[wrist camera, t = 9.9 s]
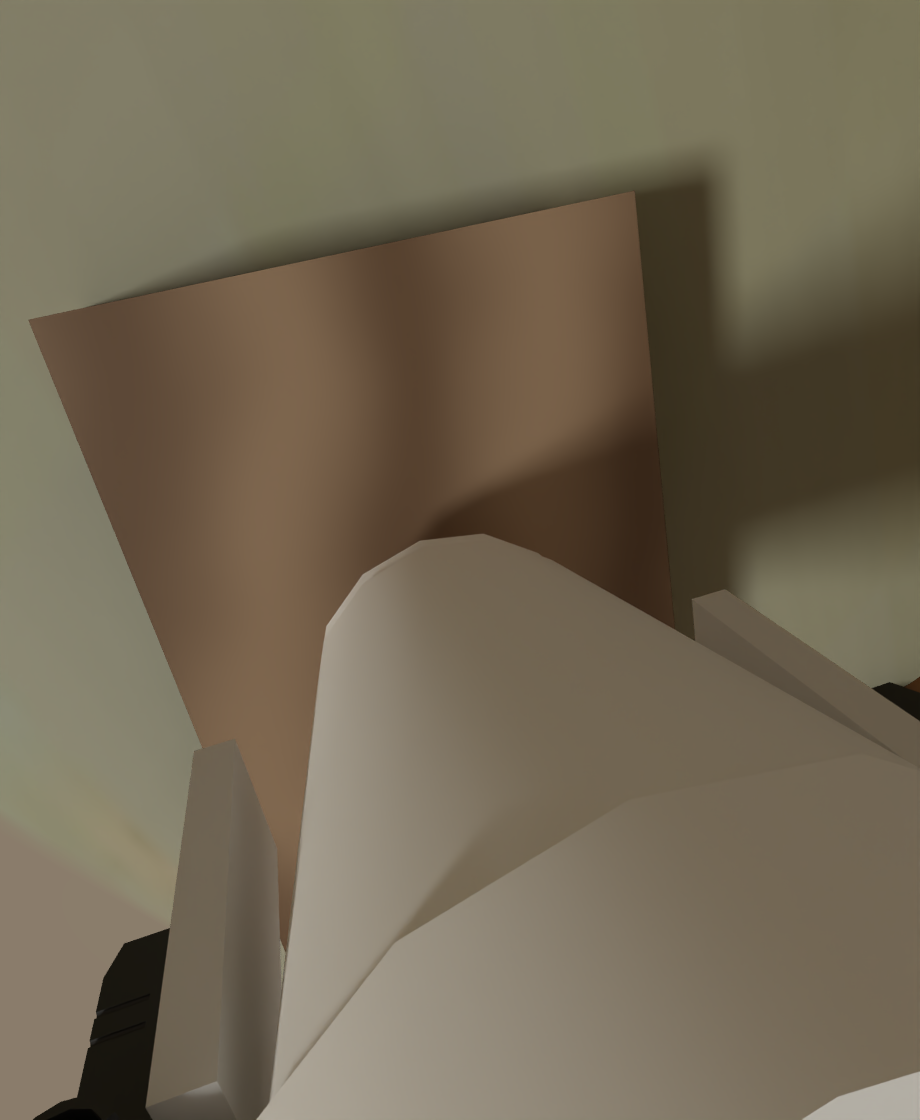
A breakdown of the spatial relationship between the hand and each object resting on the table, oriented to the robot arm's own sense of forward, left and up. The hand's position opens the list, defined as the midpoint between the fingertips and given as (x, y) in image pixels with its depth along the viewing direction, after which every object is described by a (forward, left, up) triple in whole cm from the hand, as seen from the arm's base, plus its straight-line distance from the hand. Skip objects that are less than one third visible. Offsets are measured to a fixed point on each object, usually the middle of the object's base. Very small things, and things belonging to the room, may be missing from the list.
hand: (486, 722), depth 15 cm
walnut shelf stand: (0, 0, -10) cm, 10 cm away
